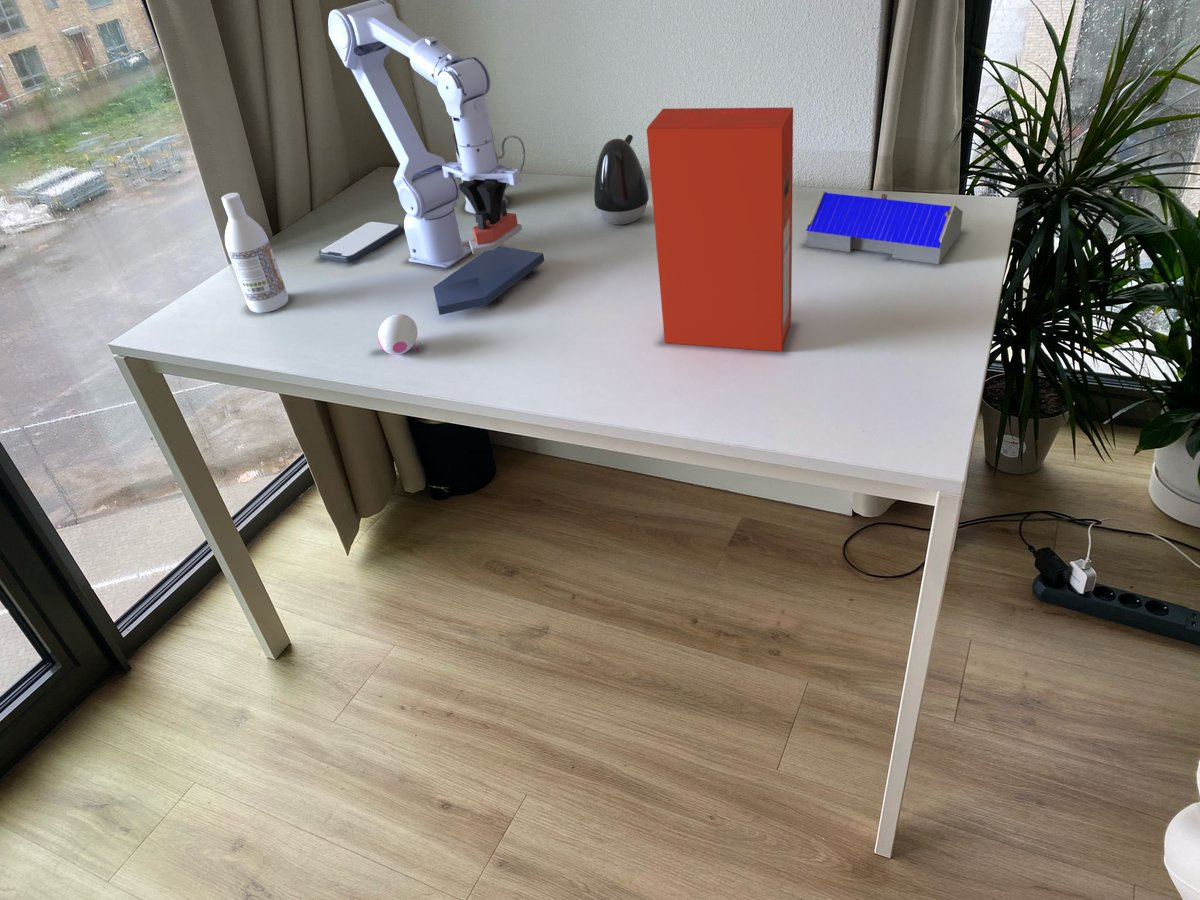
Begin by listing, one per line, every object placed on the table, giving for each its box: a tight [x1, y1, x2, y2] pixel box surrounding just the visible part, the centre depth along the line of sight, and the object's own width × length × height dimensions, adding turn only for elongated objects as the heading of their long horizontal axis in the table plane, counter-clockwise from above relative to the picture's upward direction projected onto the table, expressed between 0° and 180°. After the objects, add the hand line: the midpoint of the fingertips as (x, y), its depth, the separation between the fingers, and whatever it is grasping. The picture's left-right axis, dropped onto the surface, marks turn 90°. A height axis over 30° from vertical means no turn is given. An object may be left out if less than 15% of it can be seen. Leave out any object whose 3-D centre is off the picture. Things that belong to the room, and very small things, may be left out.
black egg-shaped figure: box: [593, 134, 650, 225], centre depth 172 cm, size 10×10×15 cm
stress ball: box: [377, 313, 420, 356], centre depth 144 cm, size 8×8×7 cm
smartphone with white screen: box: [318, 220, 403, 264], centre depth 180 cm, size 9×2×16 cm
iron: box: [469, 200, 523, 255], centre depth 156 cm, size 11×5×6 cm, turn 149°
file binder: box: [646, 106, 794, 353], centre depth 128 cm, size 8×17×32 cm, turn 71°
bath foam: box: [221, 192, 289, 314], centre depth 158 cm, size 7×7×20 cm
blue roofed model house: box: [805, 190, 964, 265], centre depth 155 cm, size 22×14×7 cm, turn 58°
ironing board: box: [432, 245, 545, 316], centre depth 157 cm, size 11×22×3 cm, turn 149°
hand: (490, 221), depth 156 cm, fingers closed on iron
